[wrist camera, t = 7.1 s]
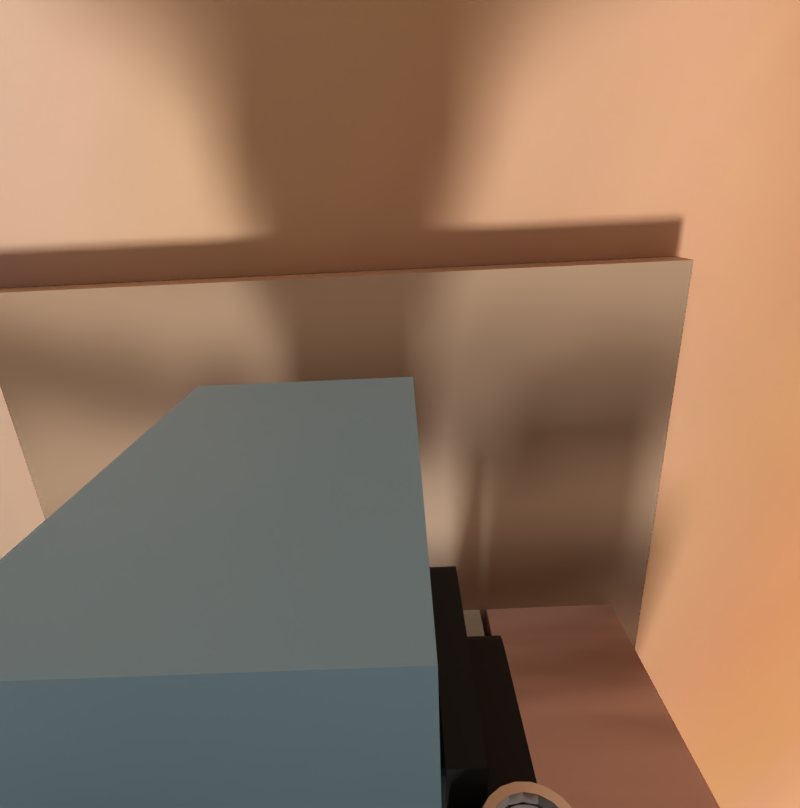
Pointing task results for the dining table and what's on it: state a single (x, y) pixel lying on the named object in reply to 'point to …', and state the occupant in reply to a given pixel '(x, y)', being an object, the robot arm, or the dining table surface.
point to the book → (231, 614)
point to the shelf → (433, 451)
